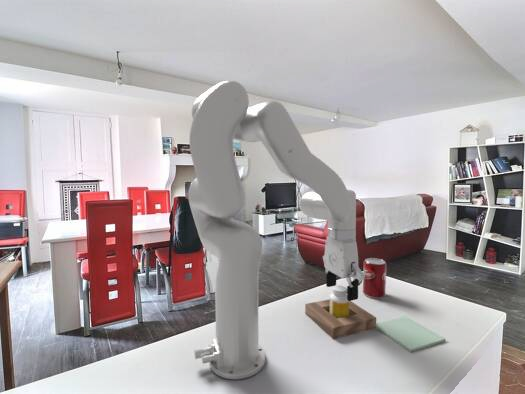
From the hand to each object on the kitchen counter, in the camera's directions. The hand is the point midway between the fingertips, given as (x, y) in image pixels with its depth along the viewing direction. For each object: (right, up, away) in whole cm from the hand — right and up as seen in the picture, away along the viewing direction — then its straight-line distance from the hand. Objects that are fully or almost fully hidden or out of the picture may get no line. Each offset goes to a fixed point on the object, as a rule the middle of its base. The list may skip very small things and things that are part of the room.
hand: (341, 292), depth 81 cm
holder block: (-1, -8, 0) cm, 8 cm away
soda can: (+16, -7, +18) cm, 25 cm away
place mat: (+16, -9, -6) cm, 19 cm away
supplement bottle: (-1, -8, 0) cm, 8 cm away
